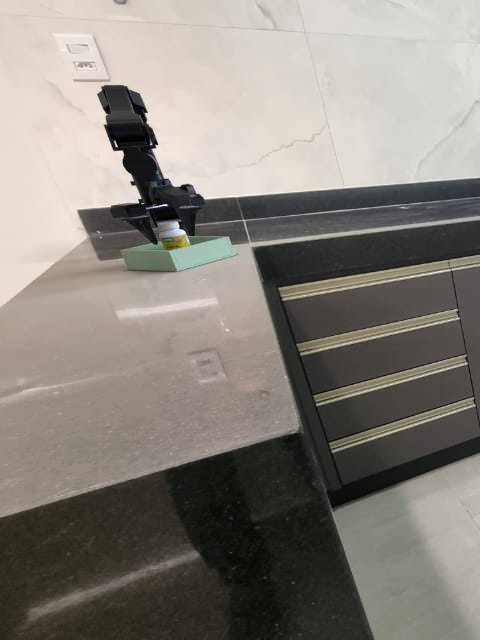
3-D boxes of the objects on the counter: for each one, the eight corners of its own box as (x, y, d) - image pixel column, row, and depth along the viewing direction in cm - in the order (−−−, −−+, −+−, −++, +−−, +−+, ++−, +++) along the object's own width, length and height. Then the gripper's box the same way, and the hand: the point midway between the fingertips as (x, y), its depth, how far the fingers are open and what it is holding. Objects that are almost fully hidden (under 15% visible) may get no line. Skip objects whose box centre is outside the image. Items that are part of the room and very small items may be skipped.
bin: (190, 253, 144) (182, 236, 142) (235, 254, 141) (228, 236, 139) (128, 269, 131) (119, 250, 129) (177, 271, 127) (168, 251, 125)
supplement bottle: (197, 256, 139) (182, 219, 135) (195, 260, 135) (179, 222, 131) (171, 260, 136) (155, 222, 132) (169, 264, 132) (152, 225, 128)
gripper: (130, 180, 117) (161, 250, 123) (210, 170, 133) (233, 232, 140) (93, 180, 119) (125, 249, 126) (176, 171, 135) (200, 232, 142)
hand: (175, 240), depth 133 cm, fingers open, 9 cm apart
